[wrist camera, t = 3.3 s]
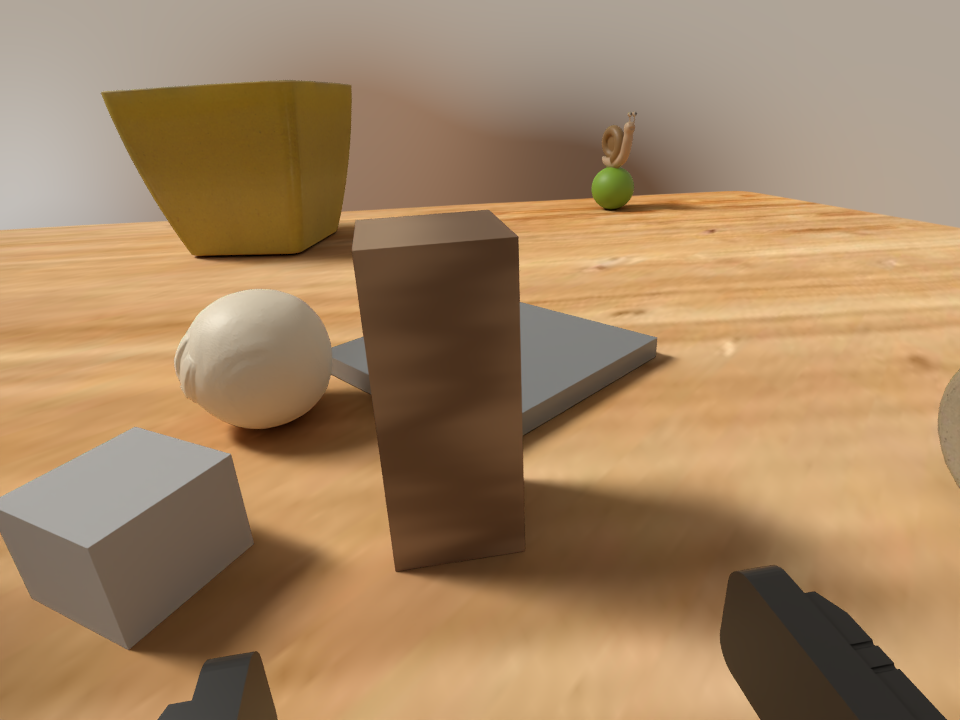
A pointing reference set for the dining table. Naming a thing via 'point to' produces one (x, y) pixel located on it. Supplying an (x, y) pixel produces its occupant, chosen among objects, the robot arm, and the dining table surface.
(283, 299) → the steamed bun
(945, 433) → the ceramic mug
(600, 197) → the snail figurine
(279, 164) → the flower pot
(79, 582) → the grey block
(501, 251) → the walnut block
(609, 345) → the plate
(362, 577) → the dining table surface
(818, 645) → the robot arm
